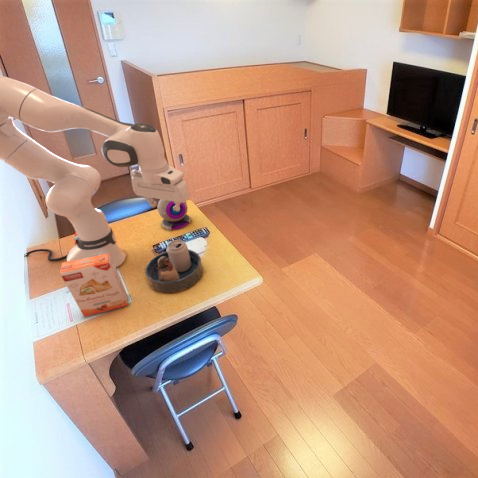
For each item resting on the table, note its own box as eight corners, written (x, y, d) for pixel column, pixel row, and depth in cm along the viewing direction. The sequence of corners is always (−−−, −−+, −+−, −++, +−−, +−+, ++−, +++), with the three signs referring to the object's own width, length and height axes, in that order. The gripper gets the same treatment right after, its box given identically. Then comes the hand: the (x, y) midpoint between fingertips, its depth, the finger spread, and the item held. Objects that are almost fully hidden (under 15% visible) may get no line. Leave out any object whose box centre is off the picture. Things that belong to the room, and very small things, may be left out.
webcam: (168, 233, 163) (160, 205, 154) (158, 221, 171) (149, 194, 162) (195, 223, 170) (188, 196, 161) (184, 212, 177) (177, 186, 169)
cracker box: (84, 318, 122) (58, 273, 109) (85, 306, 126) (61, 261, 114) (128, 306, 126) (108, 262, 114) (128, 295, 131) (109, 251, 118)
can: (186, 274, 140) (179, 251, 132) (169, 272, 141) (161, 248, 134) (195, 262, 145) (189, 239, 138) (178, 260, 147) (172, 237, 139)
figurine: (170, 272, 140) (162, 249, 133) (184, 278, 138) (177, 254, 131) (156, 284, 135) (148, 260, 128) (170, 289, 133) (162, 265, 126)
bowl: (148, 299, 130) (144, 288, 126) (150, 264, 145) (146, 254, 142) (205, 286, 135) (202, 276, 132) (201, 255, 151) (198, 244, 147)
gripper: (122, 173, 118) (134, 208, 126) (176, 181, 114) (185, 217, 122) (135, 165, 123) (146, 200, 131) (187, 173, 119) (195, 208, 127)
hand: (165, 208), depth 126 cm, fingers open, 8 cm apart
